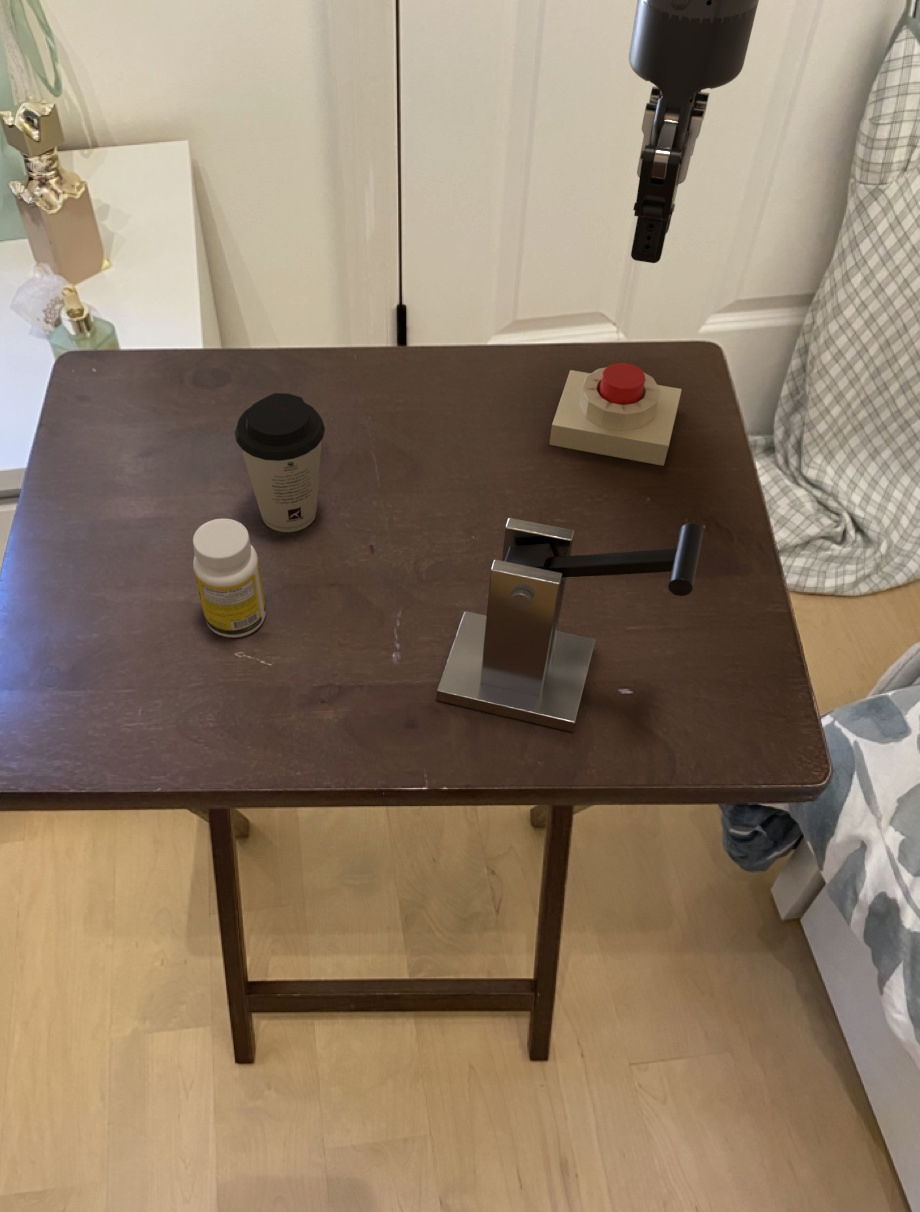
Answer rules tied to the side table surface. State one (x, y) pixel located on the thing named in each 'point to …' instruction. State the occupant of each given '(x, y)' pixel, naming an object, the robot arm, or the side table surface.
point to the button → (622, 384)
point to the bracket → (520, 641)
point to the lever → (622, 561)
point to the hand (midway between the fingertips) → (649, 244)
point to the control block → (615, 420)
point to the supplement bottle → (228, 578)
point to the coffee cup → (283, 459)
